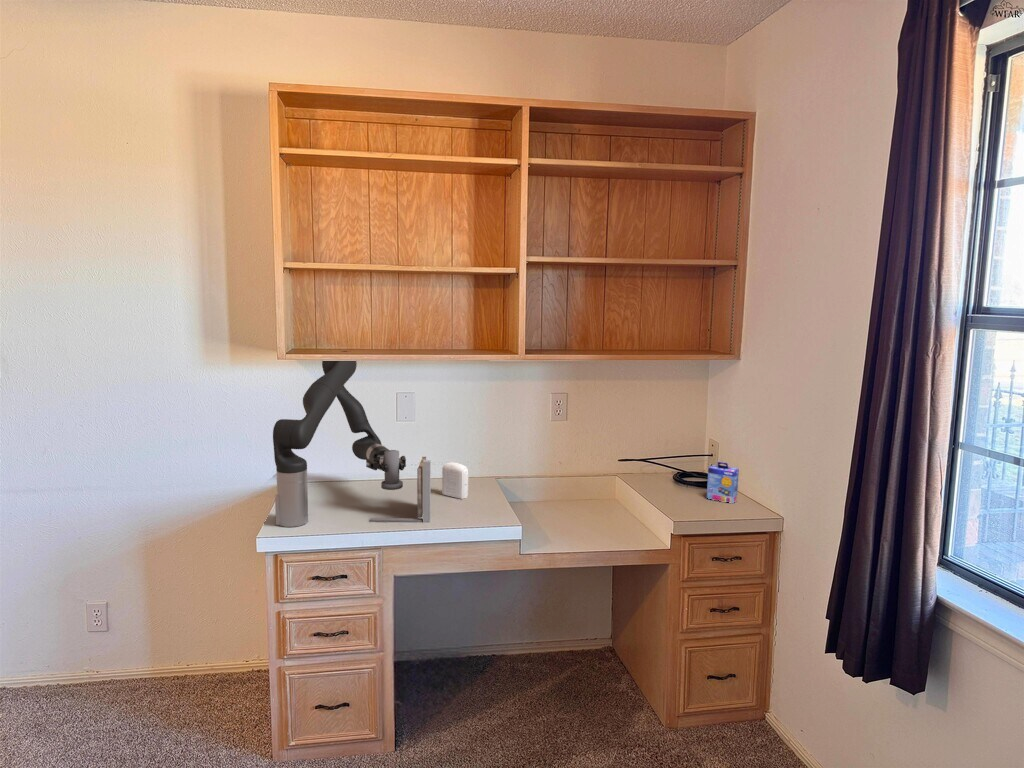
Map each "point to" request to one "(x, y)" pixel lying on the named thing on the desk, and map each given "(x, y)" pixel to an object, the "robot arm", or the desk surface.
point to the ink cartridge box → (722, 483)
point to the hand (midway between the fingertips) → (394, 468)
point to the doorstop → (392, 471)
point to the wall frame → (425, 499)
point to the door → (420, 488)
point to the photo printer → (455, 480)
